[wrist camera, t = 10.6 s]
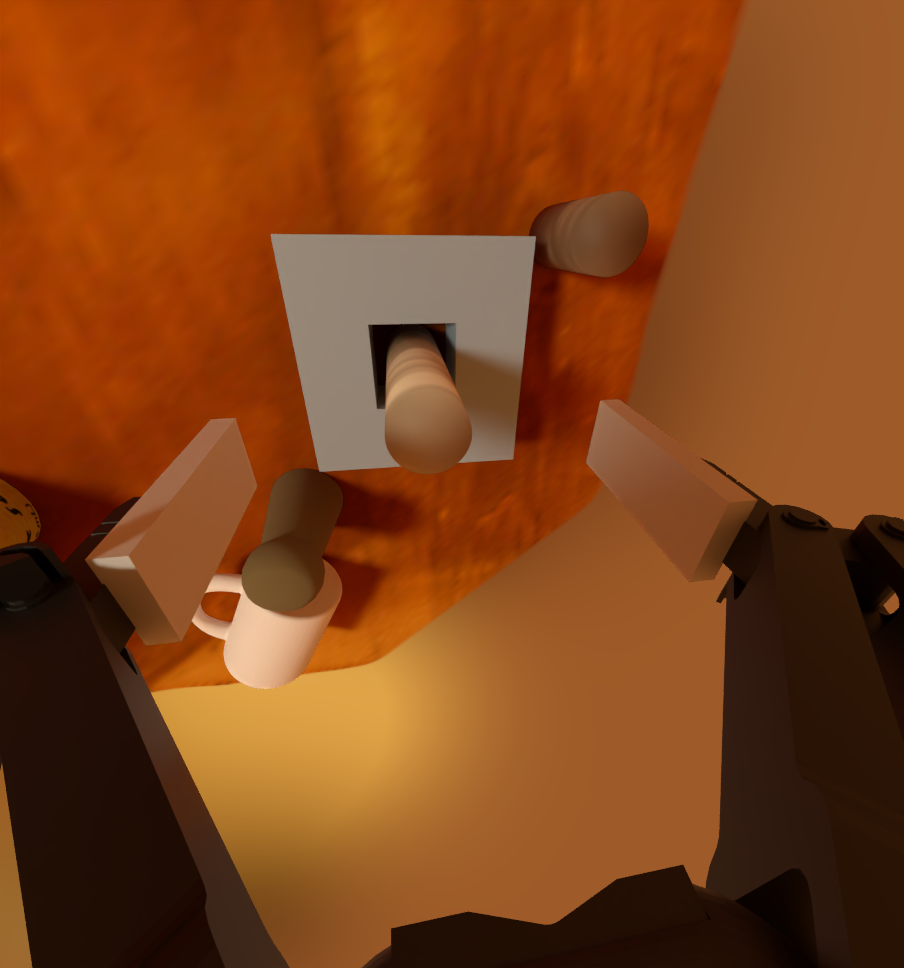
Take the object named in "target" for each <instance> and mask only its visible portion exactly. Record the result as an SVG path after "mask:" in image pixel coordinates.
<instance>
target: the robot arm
mask: <svg viewBox="0 0 904 968" xmlns="http://www.w3.org/2000/svg"><path fill="white" fill-rule="evenodd" d="M586 463H587V464H588V466H589V467H590V468H591V469H592V470H593V471H594V473H595V474H596V475H597V476H598V477H599V478H600V480H601V481H602V482H603V483H604V484H605V485H606V486H607V488H608V489H609V490H610V491H611V492H612V493H613V495H614V496H615V497H616V498H617V499H618V500H619V501H620V503H621V504H622V505H623V506H624V507H625V508H626V510H627V511H628V512H629V513H630V514H631V515H632V516H633V518H634V519H635V520H636V521H637V522H638V524H639V525H640V526H641V527H642V528H643V529H644V530H645V532H646V533H647V534H648V535H649V536H650V537H651V538H652V540H653V541H654V542H655V543H656V544H657V546H658V547H659V548H660V549H661V550H662V551H663V553H664V554H665V555H666V556H667V557H668V558H669V559H670V561H671V562H672V563H673V564H674V565H675V566H676V568H677V569H678V570H679V571H680V572H681V573H682V575H683V576H684V577H685V578H686V579H687V580H688V581H689V582H695V581H703V580H712V579H714V578H715V576H716V575H717V573H718V571H719V569H720V567H721V566H722V563H724V564H725V565H726V566H727V567H728V568H729V569H730V570H731V571H732V574H731V576H730V578H729V580H728V581H727V583H726V584H725V586H724V588H723V590H722V591H721V593H720V595H719V597H718V599H717V601H716V602H719V603H721V602H722V600H723V599H724V598H727V602H726V634H725V667H724V700H723V702H724V703H723V732H722V765H721V800H720V830H719V839H718V844H717V848H716V851H715V853H714V856H713V858H712V861H711V864H710V867H709V871H708V876H707V880H706V888H703V887H700V886H697V885H694V884H692V882H691V880H690V878H689V876H688V874H687V872H686V870H685V868H684V866H683V865H680V866H675V867H670V868H666V869H661V870H657V871H652V872H647V873H643V874H639V875H634V876H629V877H625V878H620V879H616V880H615V881H614V882H612V883H611V884H610V885H608V886H607V887H606V888H604V889H603V890H601V891H600V892H599V893H597V894H596V895H594V896H593V897H592V898H590V899H589V900H587V901H586V902H585V903H583V904H582V905H580V906H579V907H578V908H576V909H575V910H574V911H572V912H571V913H569V914H568V915H567V916H565V917H564V918H563V919H561V920H560V921H558V922H556V923H554V924H551V925H543V924H537V923H531V922H525V921H519V920H513V919H507V918H502V917H496V916H490V915H484V914H478V913H472V912H465V913H460V914H455V915H451V916H446V917H442V918H437V919H433V920H428V921H423V922H419V923H415V924H410V925H405V926H401V927H397V928H392V929H391V946H389V947H388V948H386V949H385V950H383V951H382V952H380V953H379V954H377V955H376V956H375V957H373V958H372V959H371V960H370V961H369V962H368V963H367V964H365V965H364V966H363V967H362V968H904V521H903V519H899V518H896V517H893V518H892V517H888V516H884V515H868V516H865V517H864V518H863V519H862V521H861V522H860V523H859V525H858V526H857V527H856V529H855V530H849V529H841V528H833V527H832V525H831V524H830V523H829V522H828V521H826V520H825V519H823V518H822V517H821V516H819V515H816V514H815V513H812V512H811V511H808V510H805V509H802V508H799V507H795V506H790V505H775V506H772V505H771V504H769V503H768V502H766V501H765V500H764V499H762V498H761V497H759V496H758V495H756V494H755V493H754V492H752V491H751V490H749V489H748V488H747V487H745V486H744V485H743V484H741V483H740V482H736V480H735V479H734V478H733V477H731V476H730V475H726V472H724V471H723V470H722V469H720V468H719V467H717V466H716V465H715V464H713V463H711V462H708V461H706V460H704V459H702V458H699V457H698V456H696V455H695V454H694V453H693V452H691V451H690V450H688V449H687V448H686V447H684V446H683V445H681V444H680V443H679V442H677V441H676V440H675V439H673V438H672V437H670V436H669V435H668V434H666V433H665V432H663V431H662V430H661V429H659V428H658V427H657V426H655V425H654V424H653V423H651V422H650V421H648V420H647V419H646V418H644V417H643V416H642V415H640V414H639V413H637V412H636V411H635V410H633V409H632V408H631V407H629V406H628V405H626V404H625V403H624V402H622V401H621V400H620V399H615V400H600V405H599V409H598V413H597V417H596V422H595V426H594V430H593V435H592V439H591V443H590V448H589V452H588V456H587V460H586ZM256 488H257V483H256V480H255V477H254V474H253V471H252V468H251V465H250V462H249V459H248V455H247V452H246V449H245V446H244V443H243V440H242V437H241V434H240V431H239V428H238V425H237V422H236V419H235V418H228V419H211V420H210V421H209V422H208V423H207V425H206V426H205V427H204V428H203V429H202V430H201V431H200V432H199V433H198V435H197V436H196V437H195V438H194V439H193V440H192V441H191V442H190V443H189V445H188V446H187V447H186V448H185V449H184V450H183V451H182V452H181V453H180V455H179V456H178V457H177V458H176V459H175V460H174V461H173V462H172V463H171V465H170V466H169V467H168V468H167V469H166V470H165V471H164V472H163V473H162V475H161V476H160V477H159V478H158V479H157V480H156V481H155V482H154V483H153V485H152V486H151V487H150V488H149V489H148V490H147V491H146V492H145V493H144V495H143V496H142V497H133V498H132V499H130V500H129V501H127V502H125V503H124V504H122V505H121V506H119V507H117V508H116V509H114V510H113V511H112V512H111V513H110V514H109V515H108V517H107V518H106V519H105V520H104V521H103V522H102V525H99V526H98V527H97V528H96V529H95V530H94V531H93V532H92V533H91V537H87V539H86V540H85V541H84V542H83V543H82V544H81V545H80V546H79V547H78V548H77V549H76V550H75V551H74V552H73V553H72V554H71V555H70V556H69V557H68V558H67V559H66V560H65V562H64V563H62V562H61V561H60V559H59V558H58V557H57V555H56V554H55V553H54V551H53V550H52V549H51V547H49V546H48V545H47V544H46V543H43V542H34V541H32V542H25V543H18V544H14V545H11V546H7V547H4V548H1V549H0V769H1V764H2V765H3V772H4V779H5V785H6V792H7V799H8V806H9V812H10V819H11V826H12V833H13V839H14V846H15V853H16V860H17V866H18V872H19V880H20V887H21V893H22V900H23V906H24V913H25V920H26V927H27V934H28V941H29V947H30V954H31V961H32V967H33V968H289V966H288V964H287V963H286V961H285V959H284V958H283V956H282V955H281V953H280V952H279V950H278V949H277V947H276V946H275V945H274V943H273V941H272V939H271V938H270V936H269V934H268V932H267V930H266V929H265V927H264V925H263V923H262V921H261V919H260V917H259V914H258V912H257V910H256V908H255V906H254V904H253V902H252V900H251V898H250V896H249V894H248V892H247V890H246V888H245V886H244V884H243V882H242V880H241V877H240V875H239V873H238V871H237V869H236V867H235V865H234V863H233V861H232V859H231V857H230V855H229V853H228V851H227V849H226V847H225V845H224V842H223V840H222V839H221V836H220V834H219V832H218V830H217V828H216V826H215V824H214V822H213V820H212V818H211V816H210V814H209V812H208V810H207V808H206V806H205V803H204V802H203V799H202V797H201V795H200V793H199V791H198V789H197V787H196V785H195V783H194V781H193V779H192V777H191V775H190V773H189V770H188V768H187V766H186V764H185V762H184V760H183V758H182V756H181V754H180V752H179V750H178V748H177V746H176V744H175V742H174V740H173V738H172V736H171V734H170V731H169V729H168V727H167V725H166V723H165V722H164V719H163V717H162V715H161V713H160V711H159V709H158V707H157V705H156V703H155V701H154V699H153V697H152V694H151V692H150V690H149V688H148V686H147V684H146V682H145V680H144V678H143V676H142V674H141V672H140V670H139V668H138V666H137V664H136V662H135V660H134V657H133V655H132V654H131V652H130V651H129V650H128V648H127V647H126V646H125V645H126V643H127V642H128V640H129V638H130V637H131V635H132V634H133V632H134V630H135V631H136V632H137V634H138V635H139V636H140V638H141V639H142V641H143V642H144V643H145V645H146V646H147V645H155V644H164V643H172V642H181V641H182V639H183V637H184V635H185V633H186V631H187V629H188V627H189V625H190V623H191V621H192V619H193V617H194V615H195V613H196V611H197V609H198V607H199V605H200V603H201V601H202V598H203V596H204V594H205V592H206V590H207V588H208V586H209V584H210V582H211V580H212V578H213V576H214V574H215V572H216V570H217V568H218V566H219V564H220V562H221V560H222V557H223V555H224V553H225V551H226V549H227V547H228V545H229V543H230V541H231V539H232V537H233V535H234V533H235V531H236V529H237V527H238V525H239V523H240V521H241V519H242V517H243V514H244V512H245V510H246V508H247V506H248V504H249V502H250V500H251V498H252V496H253V494H254V492H255V490H256ZM894 593H896V594H897V596H898V598H899V604H900V605H899V608H898V609H897V610H896V611H895V612H894V613H892V614H889V613H888V612H887V610H886V609H885V607H884V606H883V605H884V604H885V603H886V602H887V601H888V600H889V599H890V597H891V596H892V595H893V594H894Z"/></svg>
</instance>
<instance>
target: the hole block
mask: <svg viewBox="0 0 904 968" xmlns="http://www.w3.org/2000/svg"><path fill="white" fill-rule="evenodd" d="M271 239H272V244H273V249H274V254H275V259H276V263H277V268H278V273H279V278H280V283H281V288H282V292H283V297H284V302H285V307H286V312H287V317H288V322H289V326H290V331H291V336H292V341H293V346H294V351H295V355H296V360H297V365H298V370H299V375H300V380H301V384H302V389H303V394H304V399H305V404H306V409H307V413H308V418H309V423H310V428H311V433H312V438H313V443H314V447H315V452H316V457H317V462H318V467H319V472H323V471H338V470H354V469H369V468H385V467H400V465H399V464H398V463H397V462H396V461H395V460H394V459H393V458H392V456H391V455H390V453H389V451H388V449H387V446H386V443H385V402H386V385H378V377H377V367H376V357H375V347H374V336H373V326H372V325H380V324H430V323H446V367H447V369H448V372H449V374H450V376H451V378H452V381H453V383H454V385H455V387H456V390H457V392H458V394H459V396H460V398H461V401H462V403H463V405H464V407H465V410H466V412H467V414H468V416H469V419H470V422H471V425H472V440H471V444H470V447H469V449H468V451H467V453H466V454H465V456H464V457H463V458H462V459H461V460H460V461H459V462H458V463H462V462H477V461H493V460H508V459H513V454H514V445H515V435H516V425H517V416H518V406H519V396H520V386H521V377H522V367H523V357H524V348H525V338H526V328H527V318H528V309H529V299H530V289H531V280H532V270H533V260H534V251H535V241H536V236H436V235H316V234H271Z"/></svg>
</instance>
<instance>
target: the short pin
mask: <svg viewBox="0 0 904 968" xmlns="http://www.w3.org/2000/svg"><path fill="white" fill-rule="evenodd" d="M648 226H649V225H648V214H647V211H646V208H645V206H644V204H643V202H642V201H641V200H640V199H639V198H638V197H637V196H636V195H634V194H632V193H630V192H627V191H616V192H612V193H607V194H602V195H597V196H593V197H588V198H583V199H579V200H574V201H569V202H564V203H560V204H555V205H551V206H549V207H547V208H545V209H544V210H542V211H541V212H540V213H539V214H538V216H537V217H536V218H535V220H534V222H533V224H532V226H531V229H530V233H529V236H536V241H535V251H534V259H535V261H536V262H537V263H538V264H540V265H541V266H544V267H547V268H552V269H558V270H564V271H570V272H576V273H581V274H587V275H593V276H599V277H612V276H615V275H618V274H620V273H622V272H623V271H625V270H626V269H628V268H629V267H630V266H631V265H632V264H633V263H634V262H635V260H636V259H637V258H638V256H639V255H640V253H641V251H642V249H643V247H644V245H645V242H646V239H647V234H648Z"/></svg>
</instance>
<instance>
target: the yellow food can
mask: <svg viewBox="0 0 904 968" xmlns="http://www.w3.org/2000/svg"><path fill="white" fill-rule="evenodd" d="M40 528H41V524H40V520H39V516H38V513H37V512H36V510H35V509H34V507H33V506H32V504H31V502H30V501H29V500H27V499H26V498H25V497H24V496H23V495H22V494H21V493H20V492H19V491H18V490H17V489H15V488H14V487H12V486H11V485H9V484H8V483H6V482H5V481H4V480H2V479H0V549H1V548H4V547H7V546H11V545H14V544H18V543H25V542H32V541H34V542H35V540H36V539H37V538H38V536H39V533H40Z"/></svg>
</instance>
